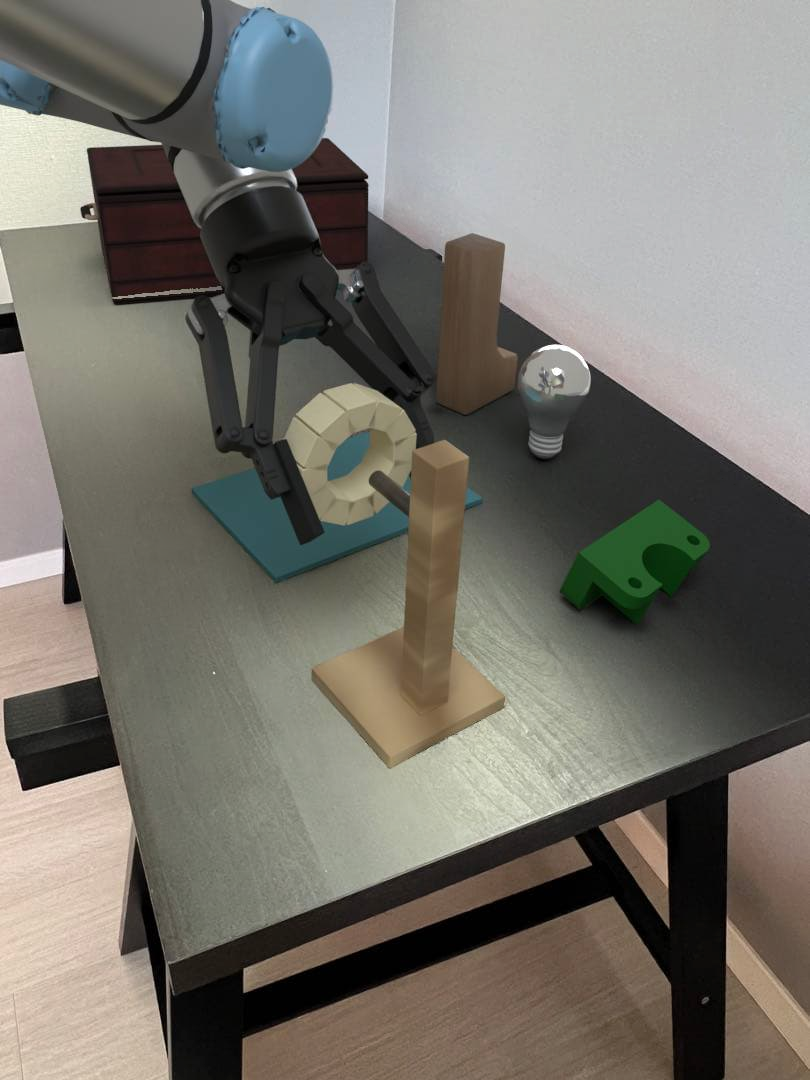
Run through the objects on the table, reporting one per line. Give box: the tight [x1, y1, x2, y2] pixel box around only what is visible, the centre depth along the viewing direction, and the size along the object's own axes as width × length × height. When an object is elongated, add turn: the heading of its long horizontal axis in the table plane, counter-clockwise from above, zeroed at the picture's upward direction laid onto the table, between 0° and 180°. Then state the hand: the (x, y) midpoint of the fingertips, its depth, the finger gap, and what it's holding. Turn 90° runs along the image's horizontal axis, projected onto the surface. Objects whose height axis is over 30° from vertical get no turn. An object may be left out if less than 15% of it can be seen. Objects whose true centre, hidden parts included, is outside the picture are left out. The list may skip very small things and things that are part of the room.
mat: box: [190, 430, 483, 584], centre depth 88 cm, size 22×16×1 cm
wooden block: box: [435, 232, 519, 416], centre depth 101 cm, size 9×4×18 cm, turn 138°
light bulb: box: [517, 344, 592, 461], centre depth 92 cm, size 7×7×12 cm
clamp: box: [559, 499, 711, 625], centre depth 77 cm, size 12×6×9 cm, turn 129°
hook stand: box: [311, 439, 506, 769], centre depth 62 cm, size 10×10×21 cm
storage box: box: [79, 137, 370, 305], centre depth 130 cm, size 39×23×15 cm, turn 108°
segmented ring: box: [282, 382, 417, 526], centre depth 64 cm, size 9×3×9 cm, turn 125°
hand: (374, 516), depth 63 cm, fingers closed on segmented ring, 9 cm apart
